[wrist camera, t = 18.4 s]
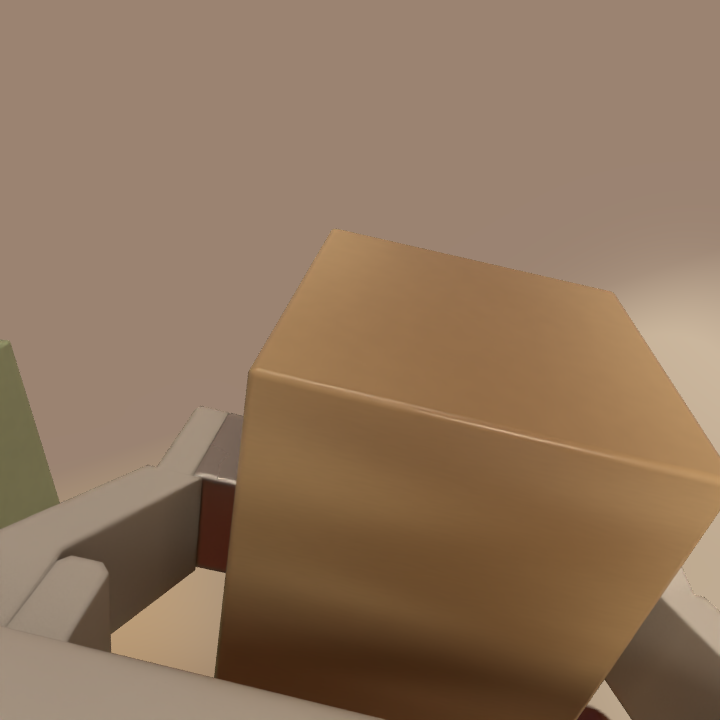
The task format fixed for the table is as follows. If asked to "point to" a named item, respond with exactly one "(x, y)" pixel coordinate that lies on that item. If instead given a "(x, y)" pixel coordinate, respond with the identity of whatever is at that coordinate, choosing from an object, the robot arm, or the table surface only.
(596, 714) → the table surface
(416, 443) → the block
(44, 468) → the box lid
